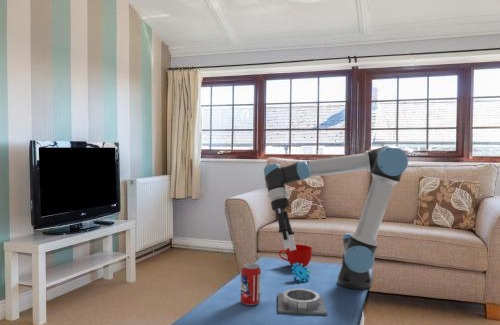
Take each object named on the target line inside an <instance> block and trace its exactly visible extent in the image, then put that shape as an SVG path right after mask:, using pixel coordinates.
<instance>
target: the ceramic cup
mask: <svg viewBox="0 0 500 325" xmlns="http://www.w3.org/2000/svg"><path fill="white" fill-rule="evenodd" d="M295 246H296V250H292V251H290V249H289V248H287V249H281V250H279V252H278V255H279V258H281V260H284V261H286V262H289V265H290V266H291V268H292V267H293V266H292V265H293V264H296V263H299V265H298V266H299V267H300V264H301V263H302V264H303V266H302V268H304V267H305V266H306V267H308V265H309V264H310V262H311V260H312V255H313V248H312V247H311V246H310V245H304V244H295ZM283 252H285V253H286V258H285V257H283V256H282V253H283ZM296 267H297V266H296Z"/></svg>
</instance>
